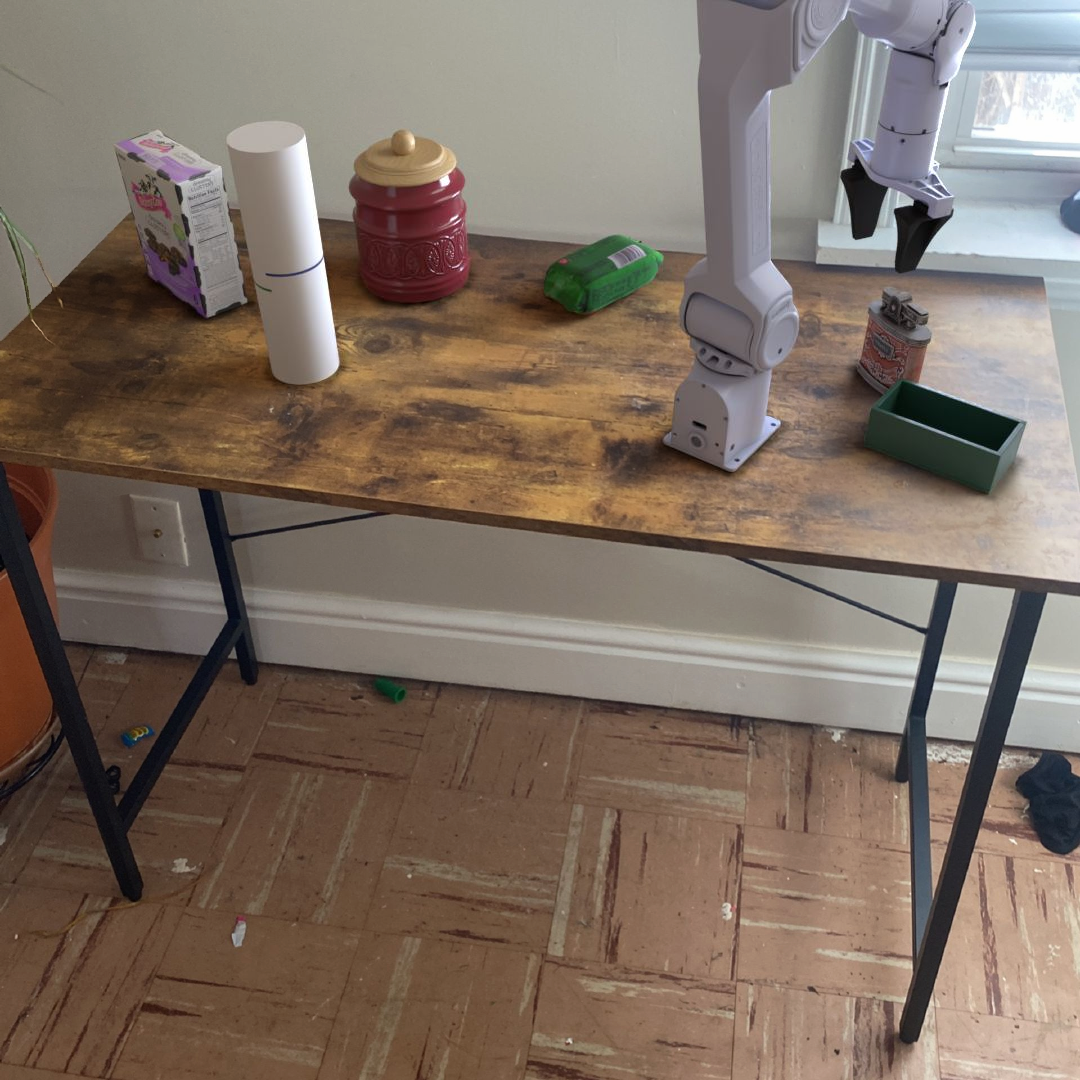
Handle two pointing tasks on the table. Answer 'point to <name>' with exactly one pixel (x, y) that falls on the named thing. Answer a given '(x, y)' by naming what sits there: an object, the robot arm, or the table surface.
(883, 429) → the green open box
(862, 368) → the lighter
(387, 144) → the kitchen canister
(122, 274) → the table surface
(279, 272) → the cylindrical container
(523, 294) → the table surface
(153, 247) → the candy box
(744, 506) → the table surface
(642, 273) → the snack package
